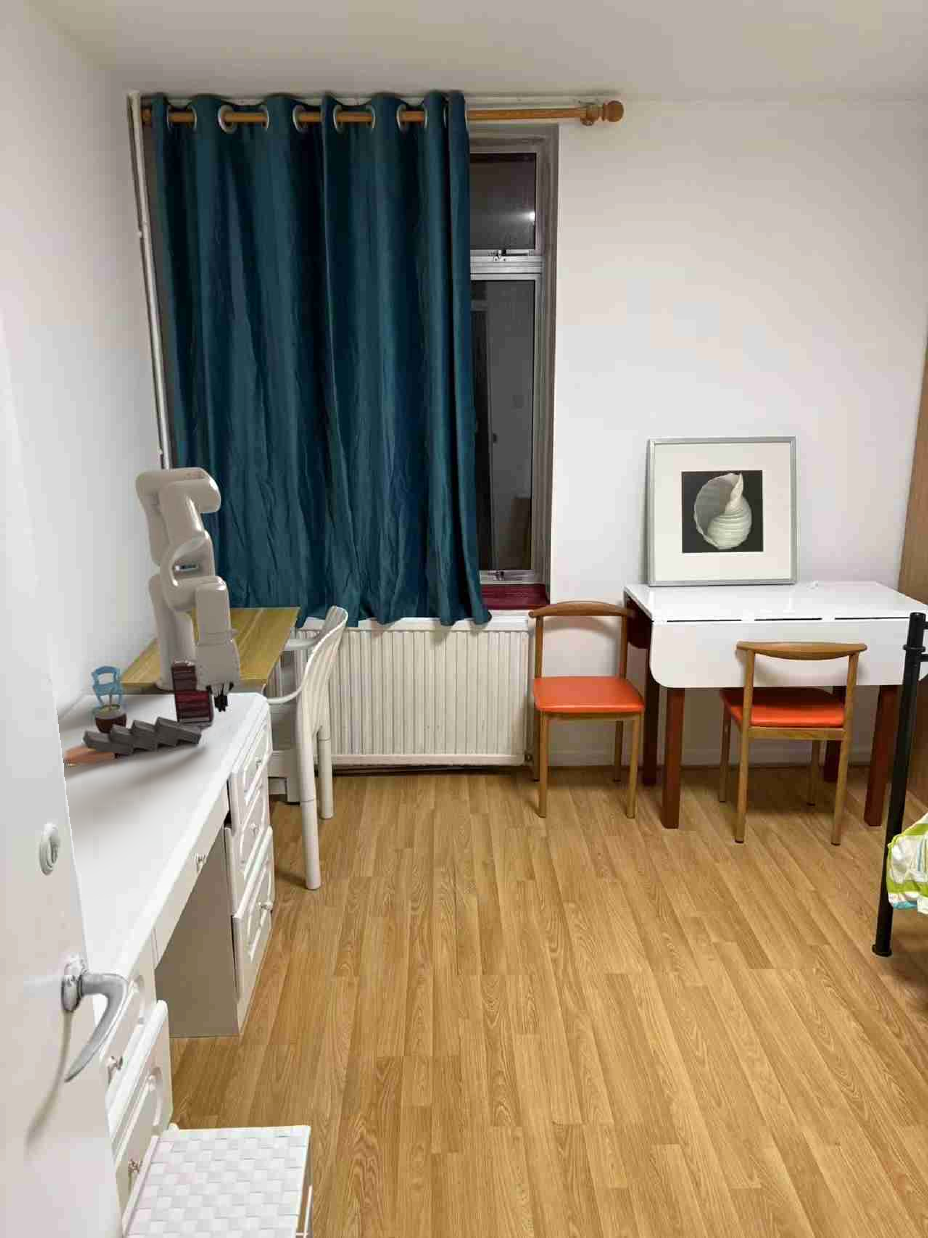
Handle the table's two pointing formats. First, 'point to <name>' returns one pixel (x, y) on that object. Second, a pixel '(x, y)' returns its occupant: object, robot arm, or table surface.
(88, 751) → the rust domino
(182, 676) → the supplement box
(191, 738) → the domino
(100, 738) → the domino
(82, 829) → the table surface
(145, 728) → the domino
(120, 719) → the mate gourd
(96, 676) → the chair
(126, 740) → the domino
